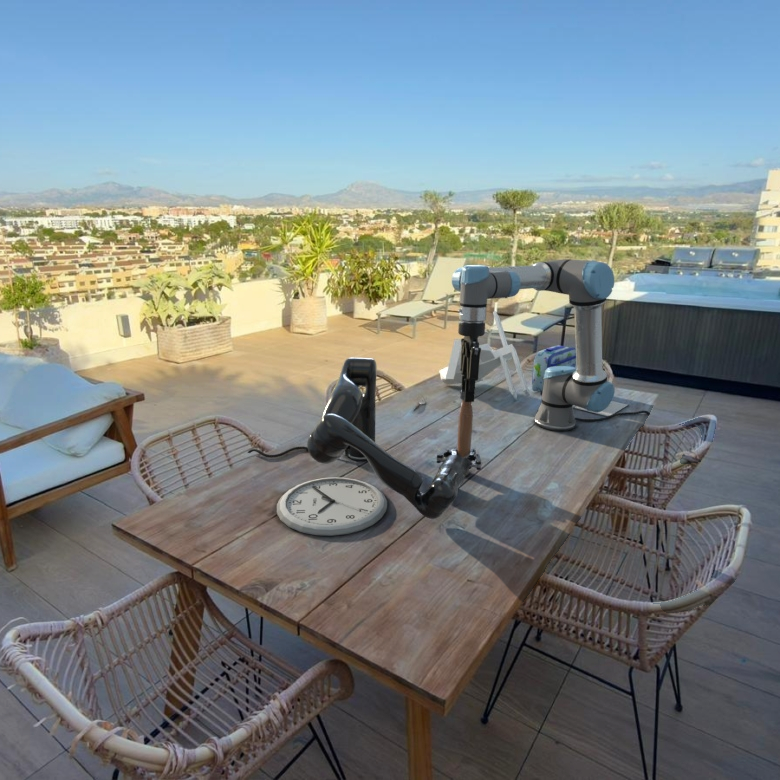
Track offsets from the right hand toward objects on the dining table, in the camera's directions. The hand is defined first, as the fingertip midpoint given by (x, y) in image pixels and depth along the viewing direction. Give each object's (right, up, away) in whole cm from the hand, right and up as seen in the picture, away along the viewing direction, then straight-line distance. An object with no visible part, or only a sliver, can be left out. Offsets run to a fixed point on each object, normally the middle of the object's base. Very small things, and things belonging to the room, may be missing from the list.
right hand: (467, 398), depth 156 cm
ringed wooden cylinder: (-1, -23, +7) cm, 24 cm away
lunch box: (+54, +2, +92) cm, 107 cm away
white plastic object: (+19, +1, +87) cm, 89 cm away
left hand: (+1, -16, +8) cm, 18 cm away
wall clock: (-39, -29, -13) cm, 50 cm away
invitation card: (+68, -5, +70) cm, 98 cm away
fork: (-11, -4, +67) cm, 68 cm away
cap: (0, +2, -1) cm, 2 cm away
